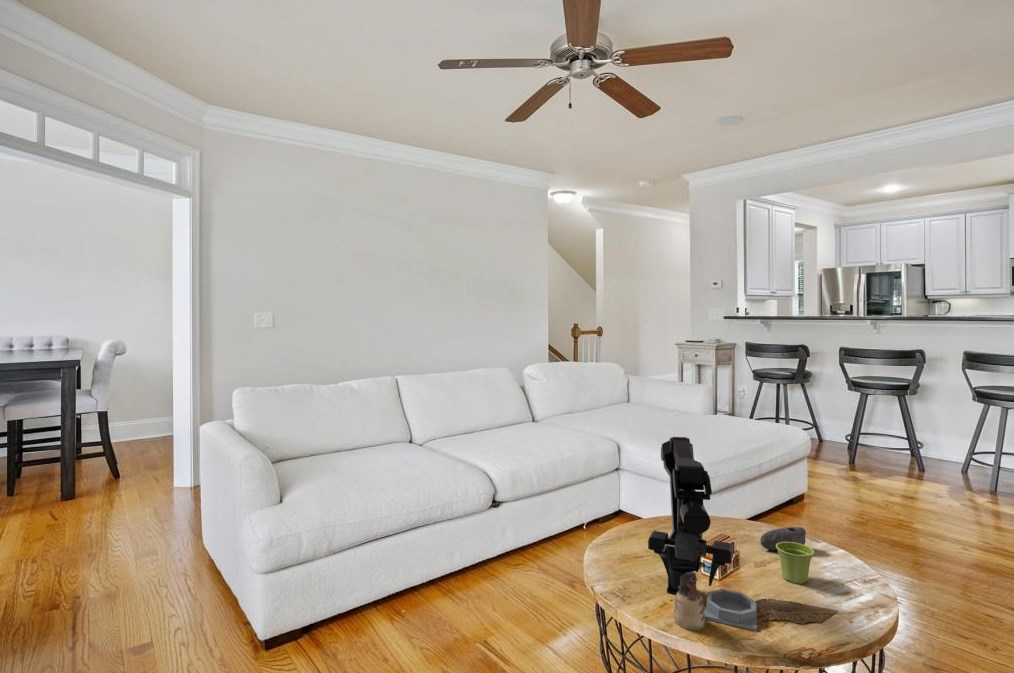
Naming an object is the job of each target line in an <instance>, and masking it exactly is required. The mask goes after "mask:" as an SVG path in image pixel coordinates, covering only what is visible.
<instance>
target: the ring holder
mask: <svg viewBox="0 0 1014 673" xmlns="http://www.w3.org/2000/svg"><path fill="white" fill-rule="evenodd" d="M755 601H756V600H754V599H753V598H751V597H749V596H748V595H746V594H745V593H743V592H741V591H736V590H729V589H725V588H722V589H721V588H720V589H716V590H712V591H708V592H707V597H706V603H705V607H704V613H705V621H706V620H707V621H709V622H714V623H720V624H723V625H729V626H733V627H737V628H741V629H746V630H750V631H755V632H756V631H758V630H757V628H758V624H757V623H758V622H757V604H756V602H755Z"/></svg>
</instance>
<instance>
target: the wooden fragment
mask: <svg viewBox="0 0 1014 673" xmlns="http://www.w3.org/2000/svg"><path fill="white" fill-rule="evenodd" d="M754 601H755V602H756V604H757V623H762V622H769V621H772V622H780V621H784V622H786V621H787V622H791V623H795V624H803V625H805V624H808V623H817V624H822V623H824V621H825V622H826V620H827V619H829V618H830V617H831V616H833V615H837V614H838V610H837V609H832V608H826V607H821V606H815V605H809V604H805V603H800V602H797V601H796V602H795V601H788V600H782V599H775V598H761V599H757V600H754Z"/></svg>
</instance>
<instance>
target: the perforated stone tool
mask: <svg viewBox="0 0 1014 673" xmlns="http://www.w3.org/2000/svg"><path fill="white" fill-rule="evenodd" d="M806 534H807V532H806V529H805V527H800V526H799V527H794V526H792V527H789V526H788V527H781V528H775V529H772V530H768V531H766V532H765V533H763V534H762V535H761V537H760V540H759V541H760V545H761V546H762V547H763V548H764V549H765V550H769V551H777V552H778V549H777V548H776V544H777V543H780V542H794V543H799V544H803V545H806Z"/></svg>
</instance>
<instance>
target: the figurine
mask: <svg viewBox="0 0 1014 673" xmlns="http://www.w3.org/2000/svg"><path fill="white" fill-rule="evenodd" d="M695 574H696V573H695ZM695 574H693V573H692V572H687V573H685V574H683V575H681V576H680V586H679V587H678V589H679V591H678V592H677V593H676V594H675V597H674V609H673V621H674V622H675V624H677V626H679V627H681V628H683V629H685V630H689V631H690V630H691V631H699V630H701V629H703V628H704V627H705V625H706V620H705V607H704V598H703V596H702V594H701V593H700V592H699V591H698V590H697V581H698V578H697V574H696V575H695Z"/></svg>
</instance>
